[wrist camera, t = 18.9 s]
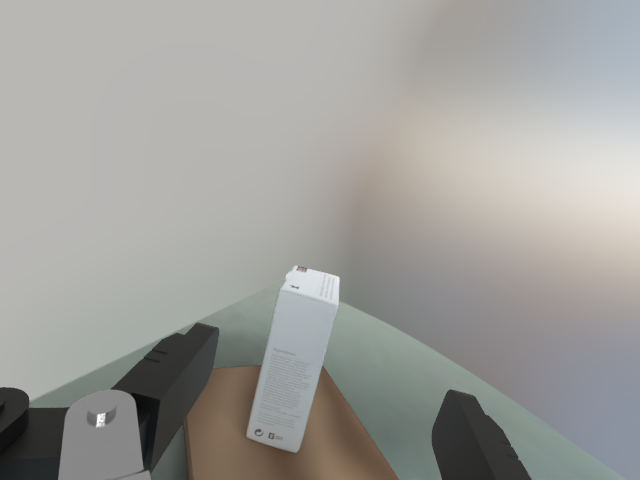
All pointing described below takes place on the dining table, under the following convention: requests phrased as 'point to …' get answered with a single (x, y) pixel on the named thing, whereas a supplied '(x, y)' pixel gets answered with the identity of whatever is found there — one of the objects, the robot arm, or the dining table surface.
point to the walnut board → (267, 461)
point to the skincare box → (293, 358)
